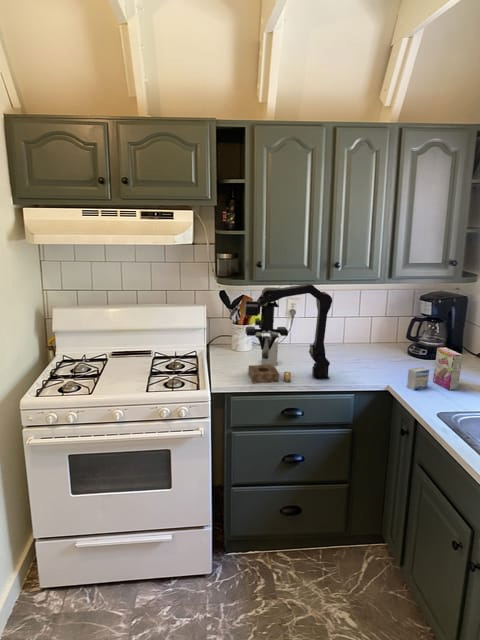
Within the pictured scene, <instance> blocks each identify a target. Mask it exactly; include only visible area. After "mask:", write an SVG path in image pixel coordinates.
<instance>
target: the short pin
mask: <svg viewBox="0 0 480 640" xmlns="http://www.w3.org/2000/svg"><path fill="white" fill-rule="evenodd" d="M291 378H292V372H291V371H284V372H283V382H284V383H291V382H292V381H291Z"/></svg>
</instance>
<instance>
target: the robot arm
mask: <svg viewBox="0 0 480 640" xmlns="http://www.w3.org/2000/svg"><path fill="white" fill-rule="evenodd" d="M306 294H307V295H308V294H310V295H311V296H312V297H314V298H315V299H316V301H315V302H316V308H317V316H316V325H315V332H314V333H315V335H314V342H313V343H310V344H309V350H308V353H309V356H310V358H312V360H313V361H314V363H313V366H312V369H311V370H312V372H311V375H312V376H313V378H314V379H315V380H324V379H325V380H326V379H327V380H329V379H330V377H329V369H330V368H329V366H330V365H331V362H330V360H328V358H327V356H326V349H325V348H326V347H325V336H326V328H327V320H328V314H329V312H330V310H331V307H332V303H333V298H332V296H331V295H330V294H329V293H327V292H326V291H321V290H319V289H318V288H317V287H315V286H314V285H313V284H312V283H311V282H310V283H309V282H308V283H305V284H304V283H303V284H298V285H292V286H287V287H264V288H263V289H262V291H261V294H260V296H259V297H258V298H257V299H256V300H245V305H244V316H245V317H258V315H260V318H255V319H254V326H246V327H245V328H244V329H245V330H244V331H245V332H244V333H245V335H246V336H247V337H251V336H252V337H254V336H255V338H257V340H258V342H259V347H260V350H261V351H262V350H263V335H262V334H269V337H270V344H269V350H270V349H271V347H272V345H273V343H274V341H275V340H276V338H278V339H280V338H279V336H281V337H287V336H288V335H289V330H288V328H287V327H285V326H277V328H274V323H275V321H274V320H275V308H279V307H280V305H279V304H278V303H277V301H278V300H281V299H282V298H286V297H287V298H288V297H289V298H290V297H293V296H294V297H295V296H301V295H306ZM255 326H258V328H255Z"/></svg>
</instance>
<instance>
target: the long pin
mask: <svg viewBox="0 0 480 640" xmlns="http://www.w3.org/2000/svg"><path fill="white" fill-rule="evenodd" d="M262 337H263V350H262V349H261V359H262V358H263V359H268V358H269V344H270V335H264V336H263V335H262Z"/></svg>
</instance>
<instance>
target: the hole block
mask: <svg viewBox="0 0 480 640" xmlns="http://www.w3.org/2000/svg"><path fill="white" fill-rule="evenodd" d="M247 371H248V372H247V373H248V377H250V380H251V383H252V384H260V383H261V384H262V383H264V384H265V383H280V373H279V371H278V370H277V368H276V366H274V365H261V364H260V365H259V364H258V365H256V364H255V365H248V370H247Z"/></svg>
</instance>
